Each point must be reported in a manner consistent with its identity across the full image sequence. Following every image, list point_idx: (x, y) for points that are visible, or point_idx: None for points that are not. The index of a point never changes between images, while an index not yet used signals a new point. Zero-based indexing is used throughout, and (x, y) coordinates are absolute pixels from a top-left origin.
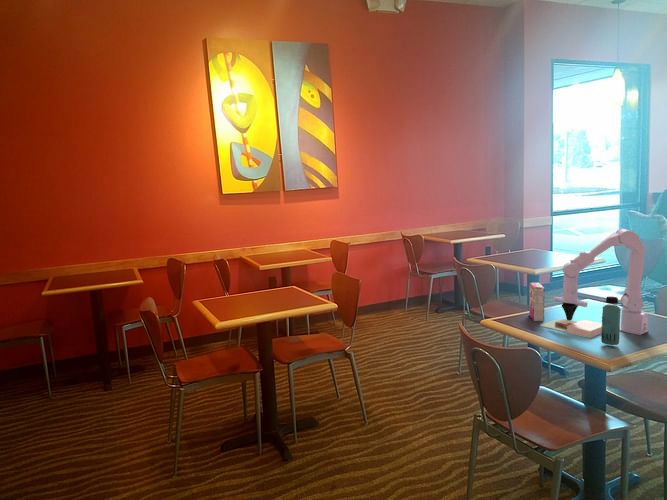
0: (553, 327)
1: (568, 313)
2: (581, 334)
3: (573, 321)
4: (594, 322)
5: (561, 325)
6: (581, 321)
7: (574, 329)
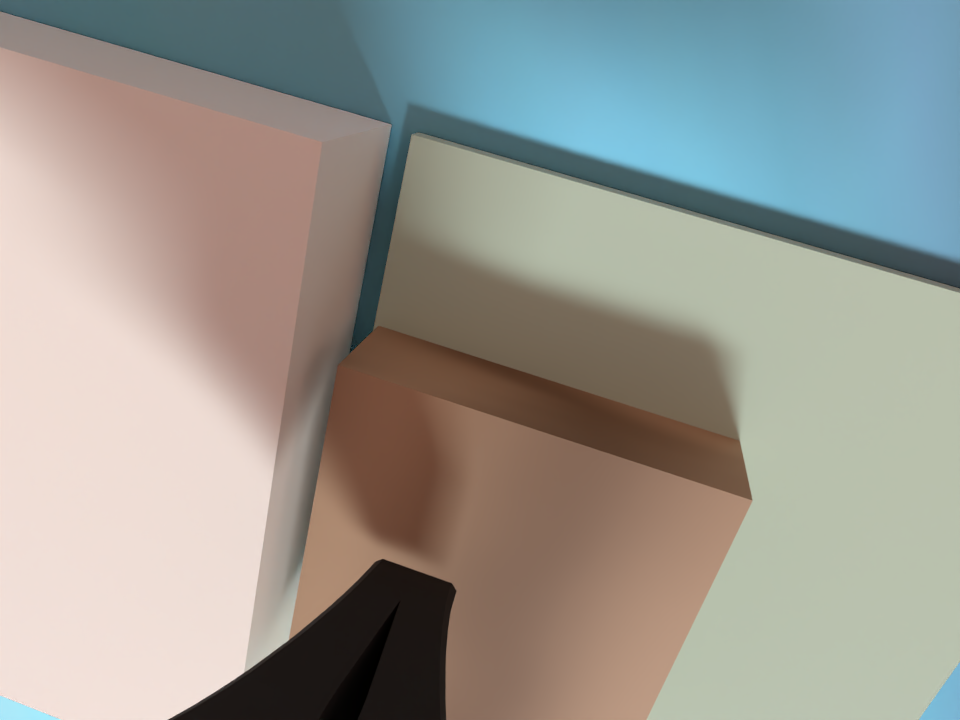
0: (755, 319)
1: (314, 693)
2: (39, 31)
3: None
4: (23, 678)
5: (575, 415)
6: (214, 663)
7: (144, 79)
